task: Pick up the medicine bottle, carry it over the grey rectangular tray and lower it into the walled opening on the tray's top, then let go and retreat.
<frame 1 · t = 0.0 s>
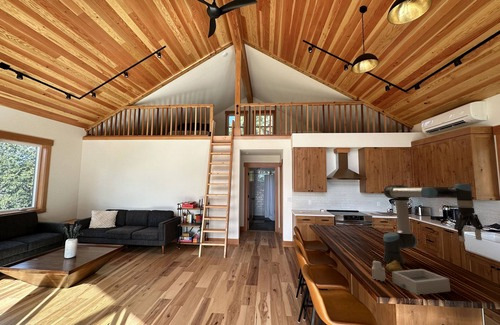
hand: (470, 240, 137), 28 cm above the kitchen island, fingers open, 13 cm apart
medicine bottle: (378, 279, 148), on the kitchen island
bread roll: (395, 273, 157), on the kitchen island
grey rectangular tray: (420, 286, 135), on the kitchen island
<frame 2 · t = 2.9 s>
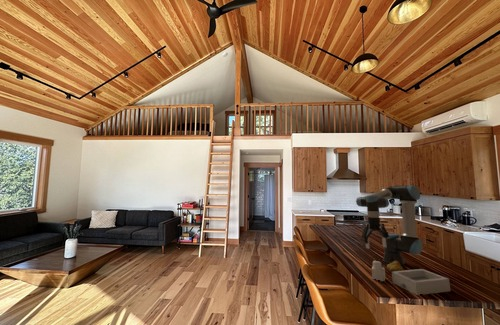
hand: (376, 247, 150), 21 cm above the kitchen island, fingers open, 13 cm apart
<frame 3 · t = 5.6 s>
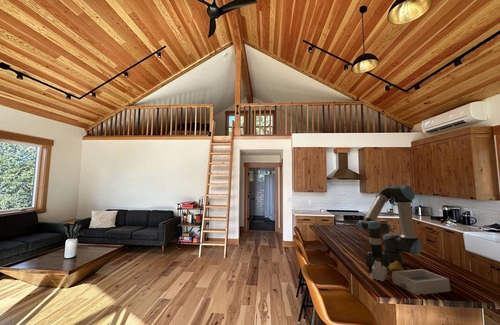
hand: (378, 277, 148), 1 cm above the kitchen island, fingers closed on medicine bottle, 10 cm apart
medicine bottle: (378, 279, 148), on the kitchen island, touching gripper
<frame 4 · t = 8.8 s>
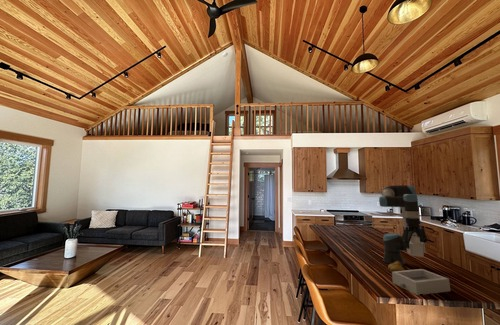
hand: (416, 253, 137), 21 cm above the kitchen island, fingers closed on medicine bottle, 10 cm apart
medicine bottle: (416, 255, 137), point 19 cm above the kitchen island, touching gripper
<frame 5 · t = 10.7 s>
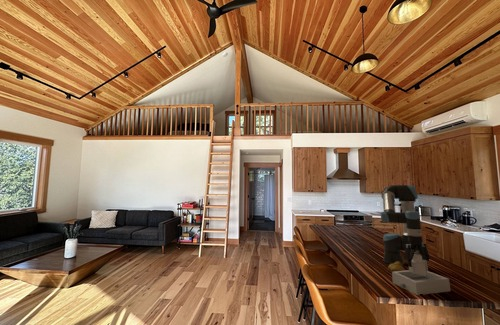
hand: (418, 271, 136), 9 cm above the kitchen island, fingers closed on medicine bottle, 10 cm apart
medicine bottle: (419, 273, 136), point 8 cm above the kitchen island, touching gripper
when the fingers open (8 cm above the kitchen island, at t = 12.1 s): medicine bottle drops 3 cm, resting on grey rectangular tray.
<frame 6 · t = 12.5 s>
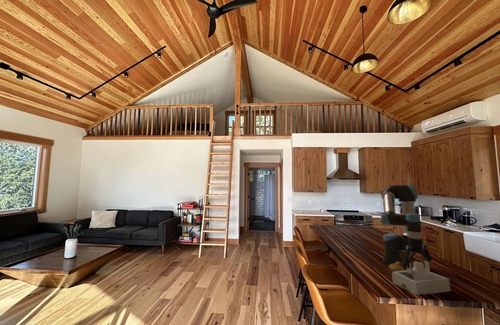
hand: (418, 272, 136), 9 cm above the kitchen island, fingers open, 13 cm apart
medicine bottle: (420, 281, 135), point 3 cm above the kitchen island, touching grey rectangular tray
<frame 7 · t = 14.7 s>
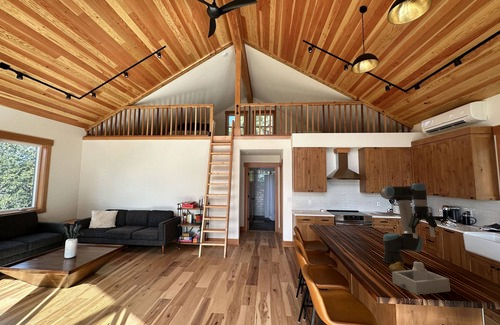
hand: (424, 237, 144), 29 cm above the kitchen island, fingers open, 13 cm apart
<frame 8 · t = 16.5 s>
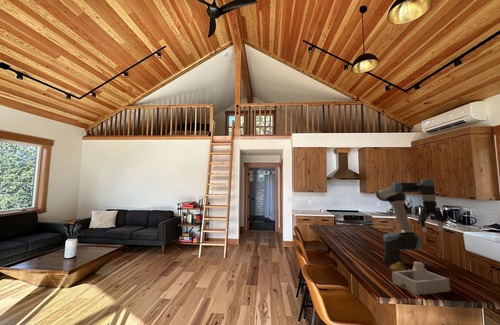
hand: (433, 231, 150), 32 cm above the kitchen island, fingers open, 13 cm apart
at the end: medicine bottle inside the target area on the grey rectangular tray (0.8 cm from its centre), point 3.0 cm above the grey rectangular tray's base; the gripper is holding nothing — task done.
